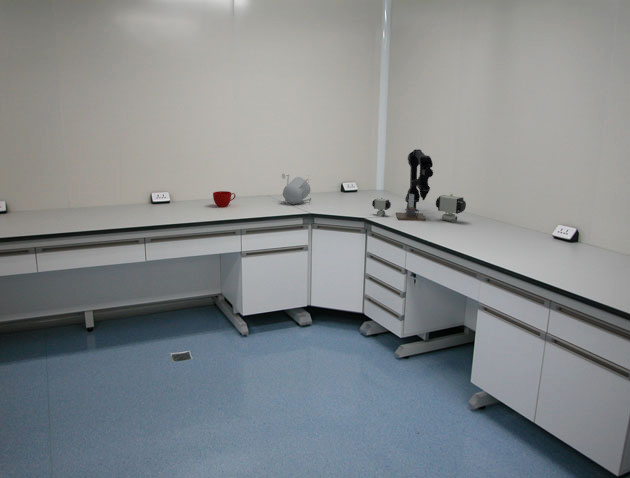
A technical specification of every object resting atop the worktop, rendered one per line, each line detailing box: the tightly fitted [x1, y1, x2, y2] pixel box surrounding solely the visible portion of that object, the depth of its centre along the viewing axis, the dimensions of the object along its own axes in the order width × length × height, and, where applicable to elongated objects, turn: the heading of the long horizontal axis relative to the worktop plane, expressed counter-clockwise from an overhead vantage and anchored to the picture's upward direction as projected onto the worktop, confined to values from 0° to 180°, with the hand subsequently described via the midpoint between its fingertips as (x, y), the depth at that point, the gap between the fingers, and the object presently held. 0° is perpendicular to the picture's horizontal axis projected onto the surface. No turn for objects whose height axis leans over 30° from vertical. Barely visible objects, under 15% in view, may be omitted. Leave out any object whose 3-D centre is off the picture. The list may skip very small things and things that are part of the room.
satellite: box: [281, 173, 312, 205], centre depth 404 cm, size 23×20×25 cm
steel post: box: [408, 194, 414, 208], centre depth 360 cm, size 3×3×10 cm
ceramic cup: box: [212, 190, 236, 208], centre depth 393 cm, size 13×17×10 cm
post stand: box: [395, 206, 427, 222], centre depth 362 cm, size 18×18×7 cm
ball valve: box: [435, 193, 467, 223], centre depth 352 cm, size 18×8×18 cm, turn 49°
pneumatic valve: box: [371, 197, 392, 217], centre depth 367 cm, size 6×12×12 cm, turn 60°
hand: (422, 198), depth 360 cm, fingers open, 9 cm apart
